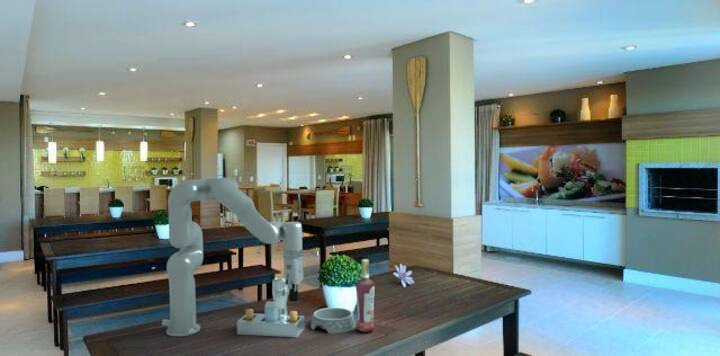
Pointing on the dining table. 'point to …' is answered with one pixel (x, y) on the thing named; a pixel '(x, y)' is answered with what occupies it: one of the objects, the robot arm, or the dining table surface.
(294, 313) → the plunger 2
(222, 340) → the dining table surface
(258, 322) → the housing
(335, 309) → the dog bowl
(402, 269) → the water lily
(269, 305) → the cylinder
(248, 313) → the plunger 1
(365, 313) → the liquor
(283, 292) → the beer glass
